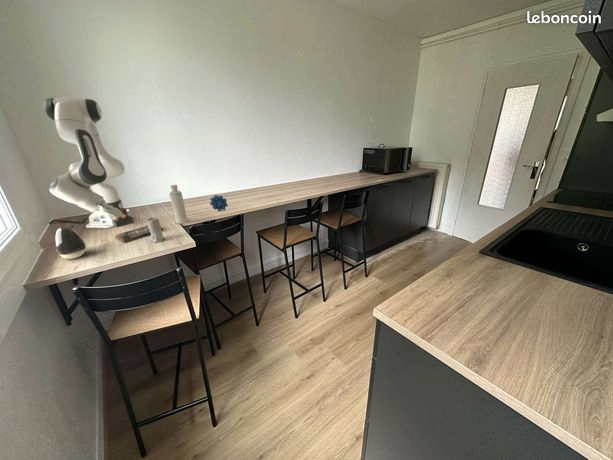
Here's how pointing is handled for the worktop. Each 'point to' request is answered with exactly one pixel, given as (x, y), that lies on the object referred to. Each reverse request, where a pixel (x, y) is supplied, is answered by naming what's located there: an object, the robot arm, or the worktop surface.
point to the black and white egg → (69, 243)
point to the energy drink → (155, 229)
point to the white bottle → (178, 205)
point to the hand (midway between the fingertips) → (123, 215)
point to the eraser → (123, 219)
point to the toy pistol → (134, 234)
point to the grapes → (218, 203)
